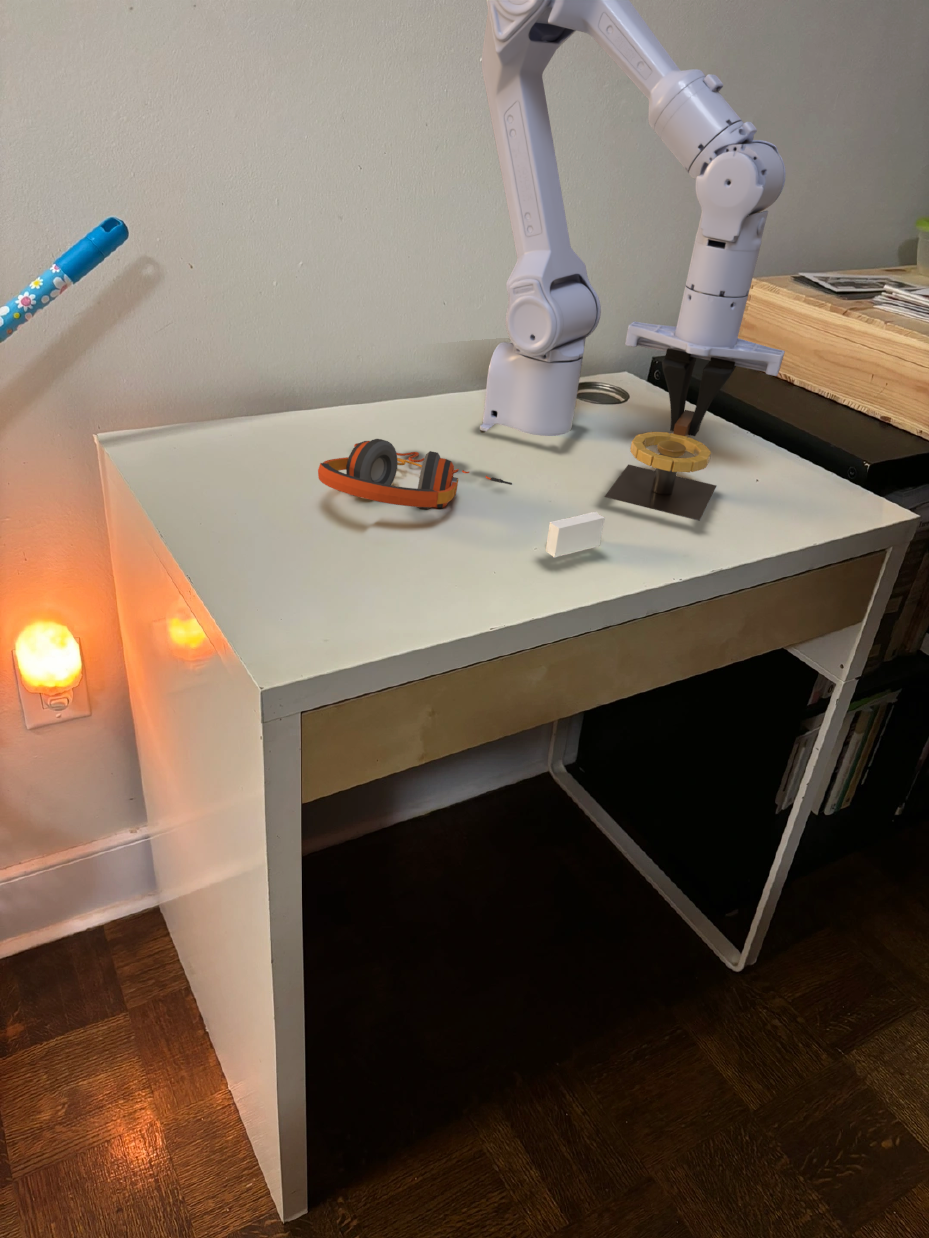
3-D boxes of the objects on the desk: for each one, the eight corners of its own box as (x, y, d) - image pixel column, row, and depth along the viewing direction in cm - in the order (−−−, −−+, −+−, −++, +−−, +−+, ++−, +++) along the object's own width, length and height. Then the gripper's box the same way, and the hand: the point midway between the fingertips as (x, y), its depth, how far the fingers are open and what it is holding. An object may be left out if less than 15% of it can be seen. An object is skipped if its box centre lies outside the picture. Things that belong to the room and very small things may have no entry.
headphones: (364, 466, 95) (265, 497, 77) (371, 415, 94) (271, 434, 76) (517, 504, 91) (451, 546, 73) (528, 451, 90) (463, 481, 71)
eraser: (543, 561, 77) (549, 521, 75) (588, 549, 79) (595, 511, 77) (552, 567, 76) (559, 528, 74) (597, 556, 78) (605, 517, 76)
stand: (602, 506, 87) (612, 450, 84) (626, 473, 94) (636, 420, 91) (697, 530, 84) (711, 473, 81) (714, 494, 91) (727, 441, 88)
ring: (699, 479, 83) (705, 458, 82) (622, 460, 85) (626, 439, 84) (722, 437, 92) (727, 418, 91) (651, 421, 94) (655, 403, 93)
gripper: (629, 283, 83) (603, 426, 91) (792, 313, 79) (751, 461, 86) (647, 270, 89) (621, 406, 96) (801, 297, 85) (761, 437, 92)
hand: (684, 430), depth 92 cm, fingers closed on ring, 1 cm apart
